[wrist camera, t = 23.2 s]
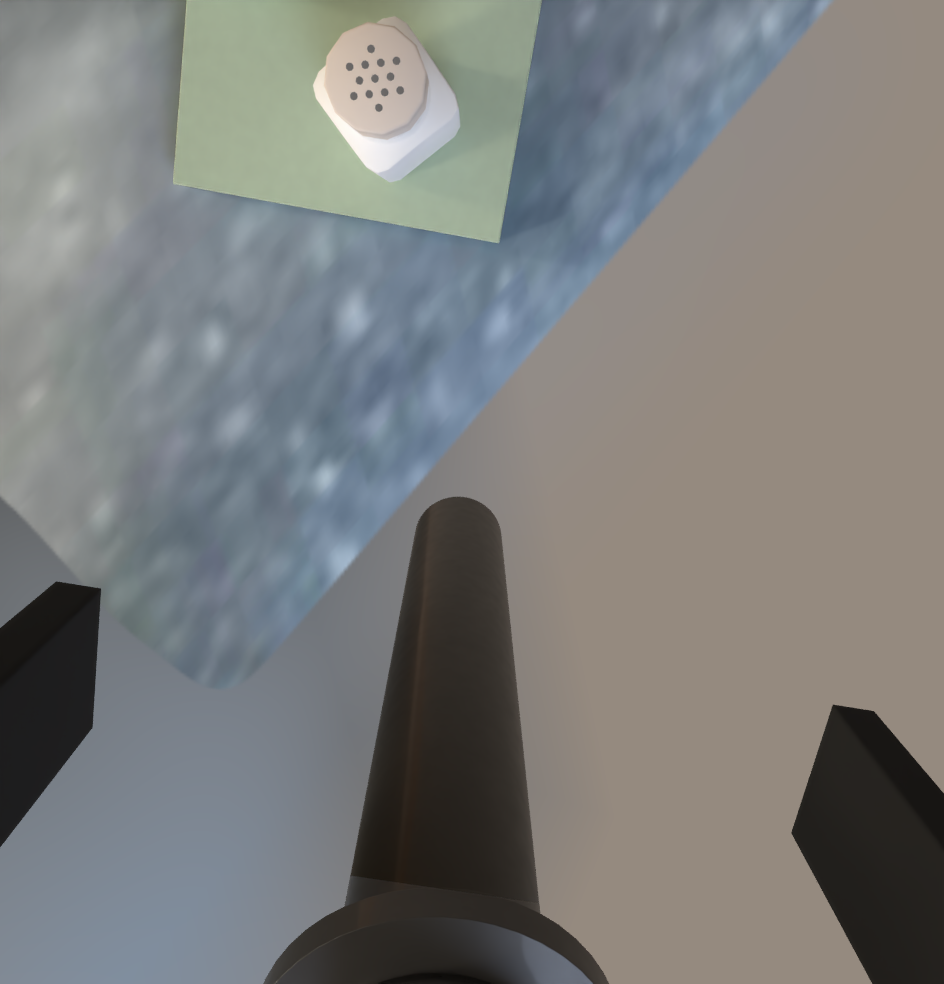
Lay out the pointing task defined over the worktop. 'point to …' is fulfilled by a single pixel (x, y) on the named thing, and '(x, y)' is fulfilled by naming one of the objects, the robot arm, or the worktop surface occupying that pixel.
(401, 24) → the pepper shaker
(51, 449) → the worktop surface
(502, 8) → the scale
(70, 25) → the worktop surface
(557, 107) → the worktop surface
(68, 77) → the worktop surface
